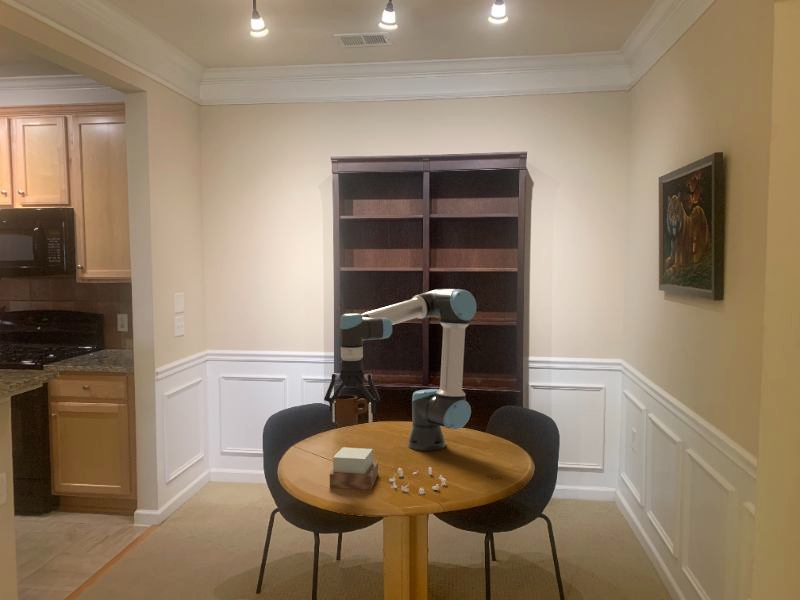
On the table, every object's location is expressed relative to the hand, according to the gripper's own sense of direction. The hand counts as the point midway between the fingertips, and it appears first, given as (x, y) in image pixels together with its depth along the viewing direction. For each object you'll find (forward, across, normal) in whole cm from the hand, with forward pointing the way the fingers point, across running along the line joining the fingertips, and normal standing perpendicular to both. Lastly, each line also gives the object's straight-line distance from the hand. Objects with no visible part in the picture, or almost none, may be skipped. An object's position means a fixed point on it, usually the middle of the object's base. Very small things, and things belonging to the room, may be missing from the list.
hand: (352, 421), depth 199 cm
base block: (+21, +1, 0) cm, 21 cm away
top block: (+16, 0, 0) cm, 16 cm away
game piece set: (+21, +22, 0) cm, 31 cm away
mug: (+1, 0, 0) cm, 1 cm away
